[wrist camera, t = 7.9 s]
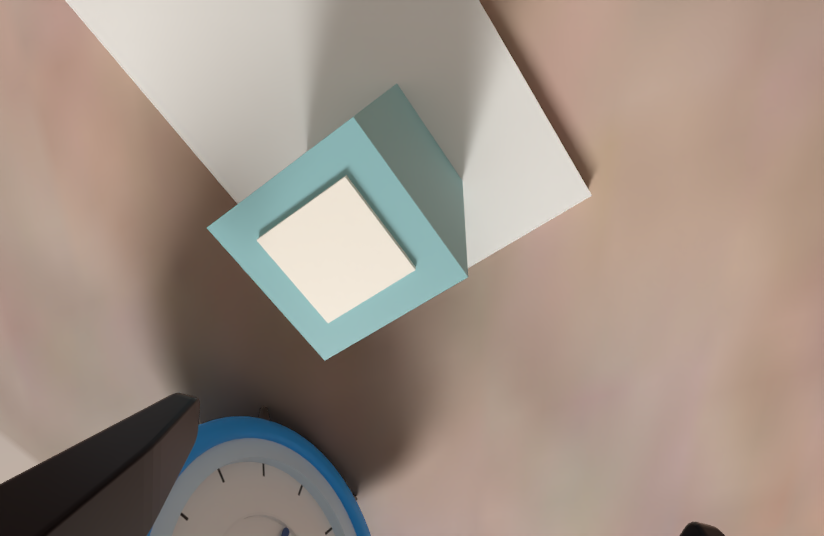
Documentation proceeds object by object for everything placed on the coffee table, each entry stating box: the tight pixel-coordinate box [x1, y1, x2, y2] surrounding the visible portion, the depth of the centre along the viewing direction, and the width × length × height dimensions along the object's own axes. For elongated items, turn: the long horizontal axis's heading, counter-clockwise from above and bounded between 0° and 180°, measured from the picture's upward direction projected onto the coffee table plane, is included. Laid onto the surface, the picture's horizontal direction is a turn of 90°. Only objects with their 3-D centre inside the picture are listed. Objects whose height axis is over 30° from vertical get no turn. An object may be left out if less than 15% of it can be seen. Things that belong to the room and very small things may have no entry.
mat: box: [65, 0, 592, 268], centre depth 17 cm, size 16×11×1 cm
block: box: [207, 84, 468, 360], centre depth 14 cm, size 4×4×8 cm
